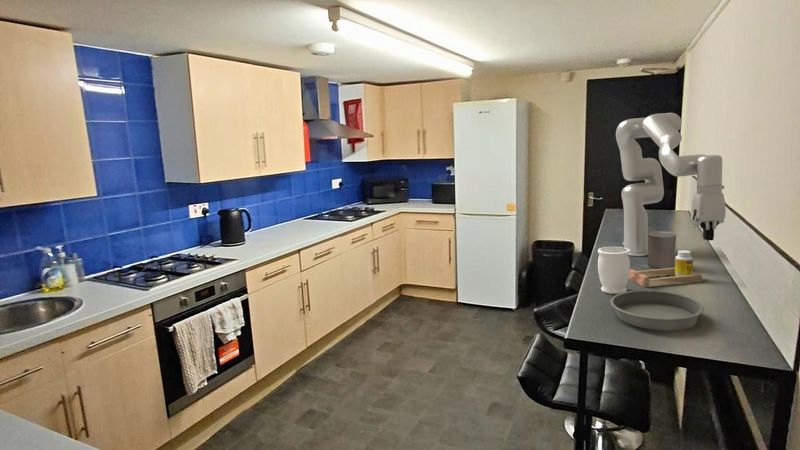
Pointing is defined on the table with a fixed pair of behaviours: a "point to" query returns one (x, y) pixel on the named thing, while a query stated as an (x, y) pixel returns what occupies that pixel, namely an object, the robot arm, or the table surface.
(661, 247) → the pillar candle
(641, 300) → the cake pan
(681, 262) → the supplement bottle
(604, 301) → the table surface
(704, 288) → the table surface
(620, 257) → the jar
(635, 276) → the channel
